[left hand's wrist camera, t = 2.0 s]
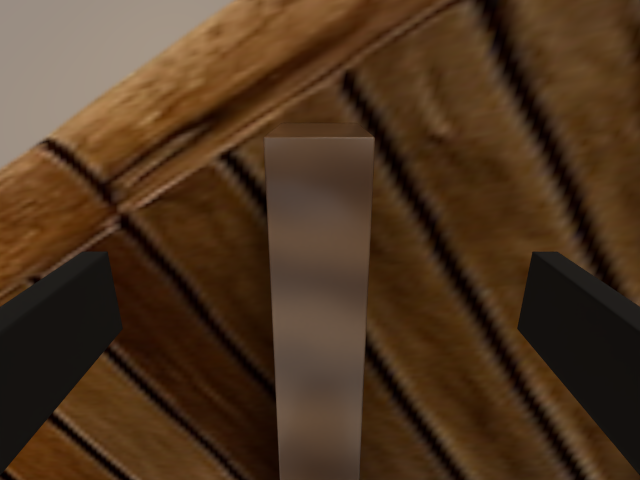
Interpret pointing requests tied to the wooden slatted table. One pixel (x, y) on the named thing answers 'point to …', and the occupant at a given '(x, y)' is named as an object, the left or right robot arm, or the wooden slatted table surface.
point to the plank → (319, 292)
